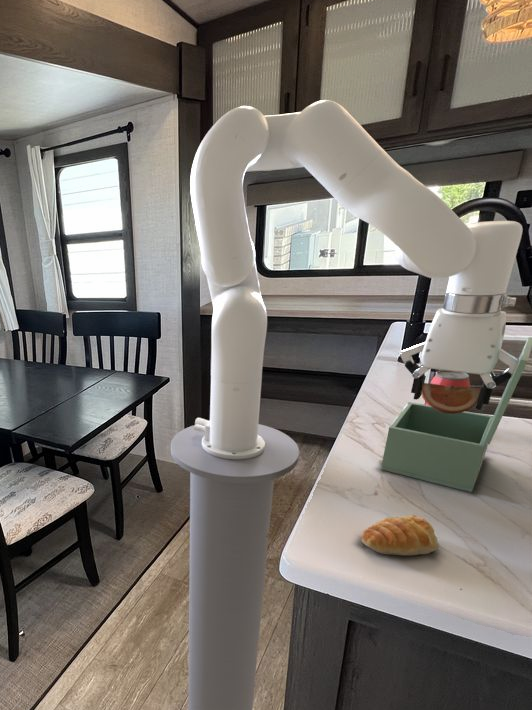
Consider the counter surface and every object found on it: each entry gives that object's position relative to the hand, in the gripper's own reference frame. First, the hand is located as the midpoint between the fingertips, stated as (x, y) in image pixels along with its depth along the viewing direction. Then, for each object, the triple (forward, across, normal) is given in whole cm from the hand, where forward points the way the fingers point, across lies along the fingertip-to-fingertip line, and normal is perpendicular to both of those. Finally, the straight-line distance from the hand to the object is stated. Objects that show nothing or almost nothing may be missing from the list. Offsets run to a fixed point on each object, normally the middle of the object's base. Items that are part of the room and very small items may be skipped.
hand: (447, 401), depth 83 cm
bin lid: (-4, -7, 0) cm, 8 cm away
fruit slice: (+2, 0, 0) cm, 2 cm away
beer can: (+13, +2, -19) cm, 23 cm away
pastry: (+13, -1, +29) cm, 32 cm away
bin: (+13, 0, 0) cm, 13 cm away
